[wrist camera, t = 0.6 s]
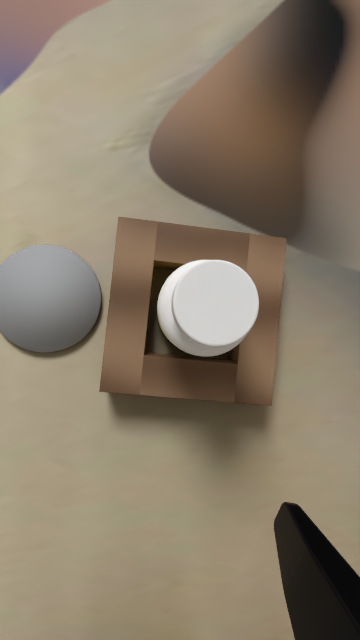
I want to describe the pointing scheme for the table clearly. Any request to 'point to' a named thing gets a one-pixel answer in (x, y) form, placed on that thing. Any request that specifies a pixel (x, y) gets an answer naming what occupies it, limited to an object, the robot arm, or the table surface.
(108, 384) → the holder block
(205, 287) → the supplement bottle
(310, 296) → the table surface
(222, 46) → the table surface
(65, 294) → the grey oval disc
